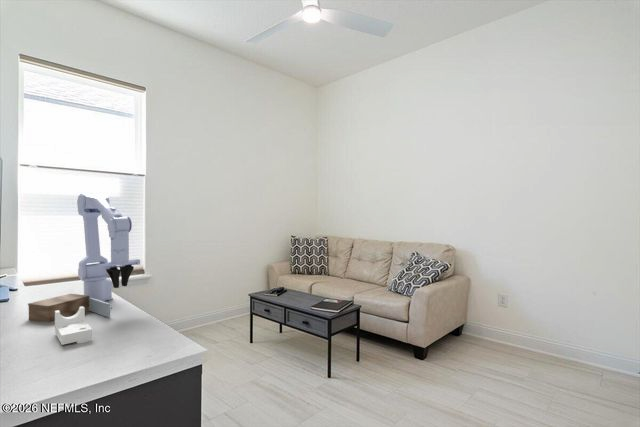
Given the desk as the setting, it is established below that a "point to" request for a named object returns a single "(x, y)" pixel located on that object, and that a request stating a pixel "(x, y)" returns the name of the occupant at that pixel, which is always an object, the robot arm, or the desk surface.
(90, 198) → the robot arm
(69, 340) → the bracket
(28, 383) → the desk surface
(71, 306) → the cabinet
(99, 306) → the door
